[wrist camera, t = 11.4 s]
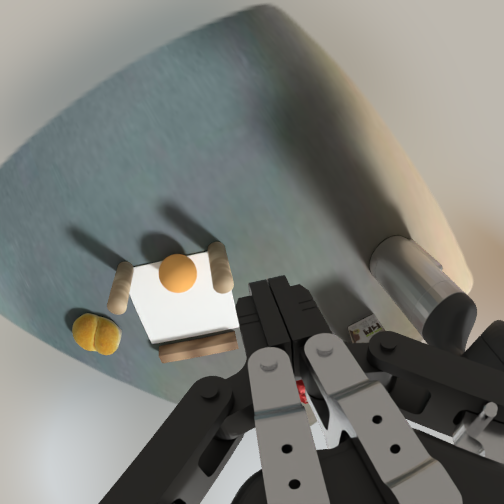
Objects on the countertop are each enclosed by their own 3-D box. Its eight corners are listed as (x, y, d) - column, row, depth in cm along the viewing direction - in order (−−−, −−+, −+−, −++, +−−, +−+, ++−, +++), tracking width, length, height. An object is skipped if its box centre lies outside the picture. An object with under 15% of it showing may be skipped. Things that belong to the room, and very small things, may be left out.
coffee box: (346, 327, 61) (381, 387, 48) (374, 312, 61) (413, 369, 47) (353, 351, 66) (384, 407, 52) (378, 338, 66) (412, 391, 52)
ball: (205, 289, 46) (190, 262, 49) (200, 268, 42) (184, 240, 45) (171, 305, 45) (158, 277, 48) (162, 286, 40) (148, 256, 43)
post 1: (130, 260, 45) (122, 297, 38) (136, 274, 47) (129, 312, 39) (115, 263, 45) (104, 300, 37) (120, 277, 46) (111, 315, 39)
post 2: (223, 239, 47) (231, 274, 39) (226, 255, 48) (235, 291, 40) (205, 243, 46) (210, 278, 39) (209, 258, 48) (215, 295, 40)
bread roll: (75, 306, 48) (70, 321, 44) (124, 320, 51) (122, 336, 47) (72, 338, 51) (68, 354, 47) (117, 351, 54) (115, 367, 51)
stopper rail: (234, 331, 56) (236, 341, 54) (236, 338, 57) (238, 348, 55) (159, 346, 55) (158, 356, 52) (162, 353, 56) (162, 363, 53)
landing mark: (222, 248, 47) (222, 248, 47) (239, 326, 55) (239, 326, 55) (120, 270, 46) (119, 270, 45) (152, 343, 54) (152, 344, 54)
